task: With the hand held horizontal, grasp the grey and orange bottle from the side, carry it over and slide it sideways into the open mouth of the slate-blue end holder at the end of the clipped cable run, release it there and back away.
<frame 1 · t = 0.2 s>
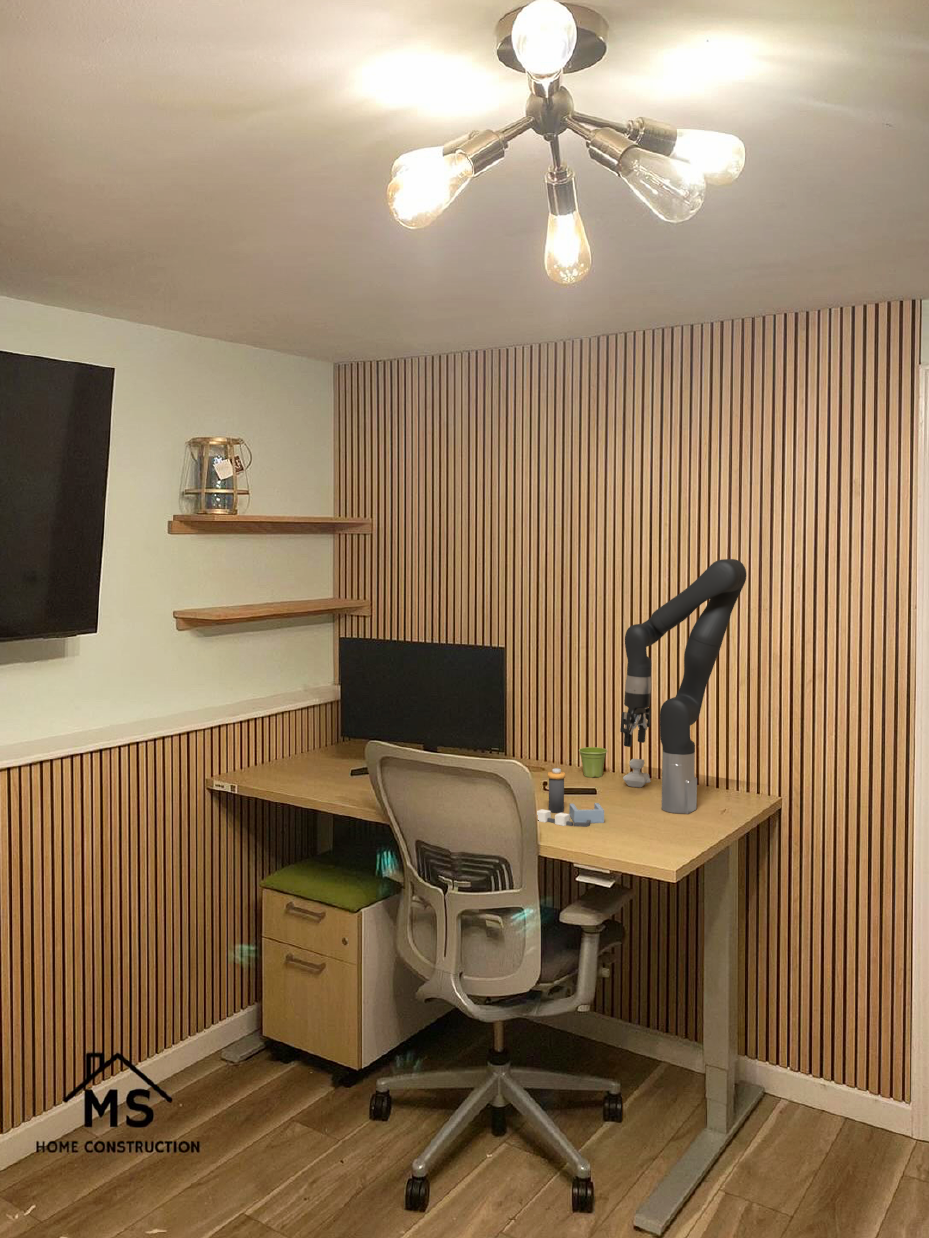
hand: (634, 744, 301), 18 cm above the table, tool pointing down, fingers open, 8 cm apart
routed cable: (564, 817, 282), on the table
plant pot: (592, 776, 336), on the table
end holder: (586, 818, 286), on the table
stamp: (636, 786, 323), on the table
grey and orange bottle: (556, 810, 294), on the table
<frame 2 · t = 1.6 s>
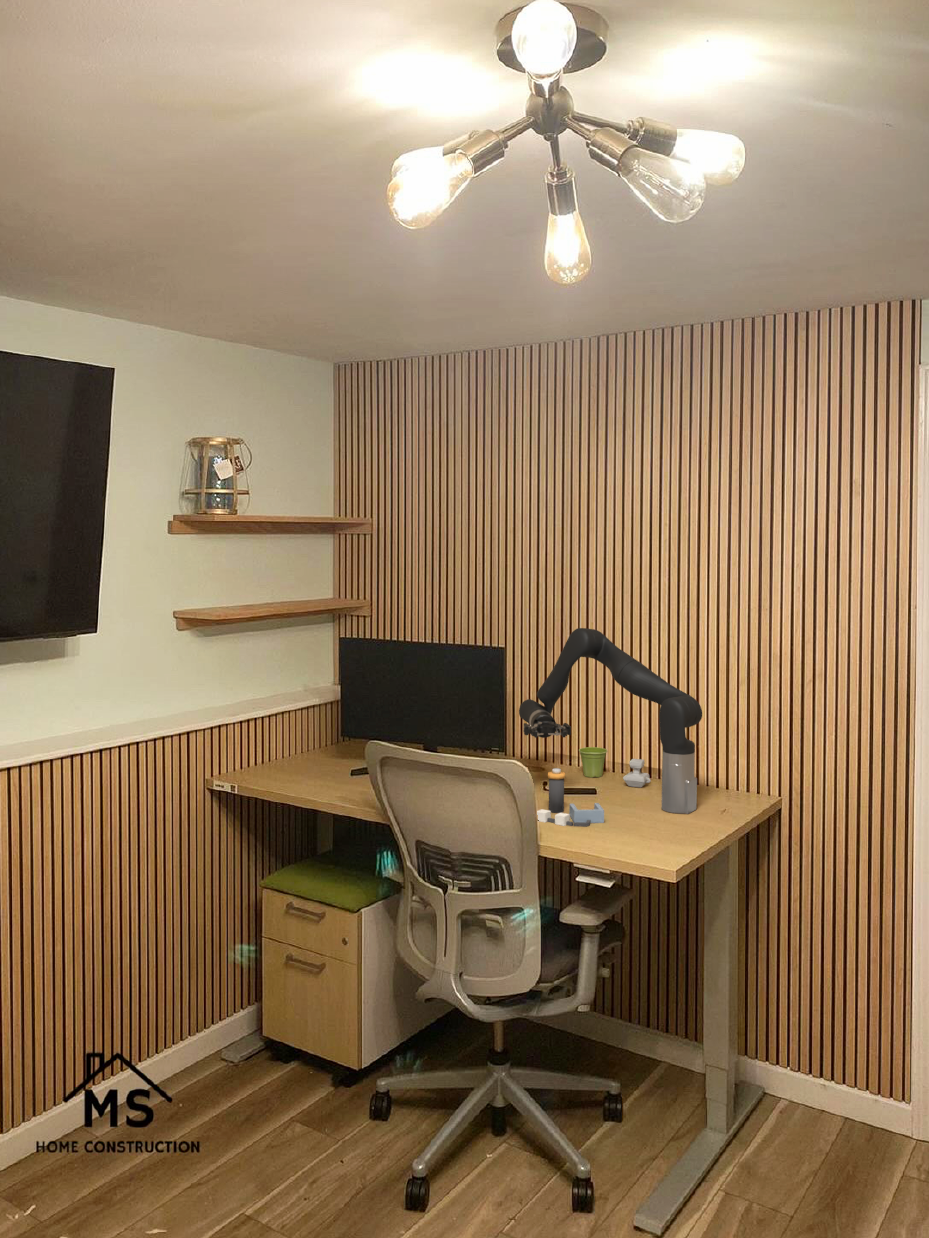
hand: (550, 734, 303), 20 cm above the table, tool horizontal, fingers open, 8 cm apart
nothing on the table moved.
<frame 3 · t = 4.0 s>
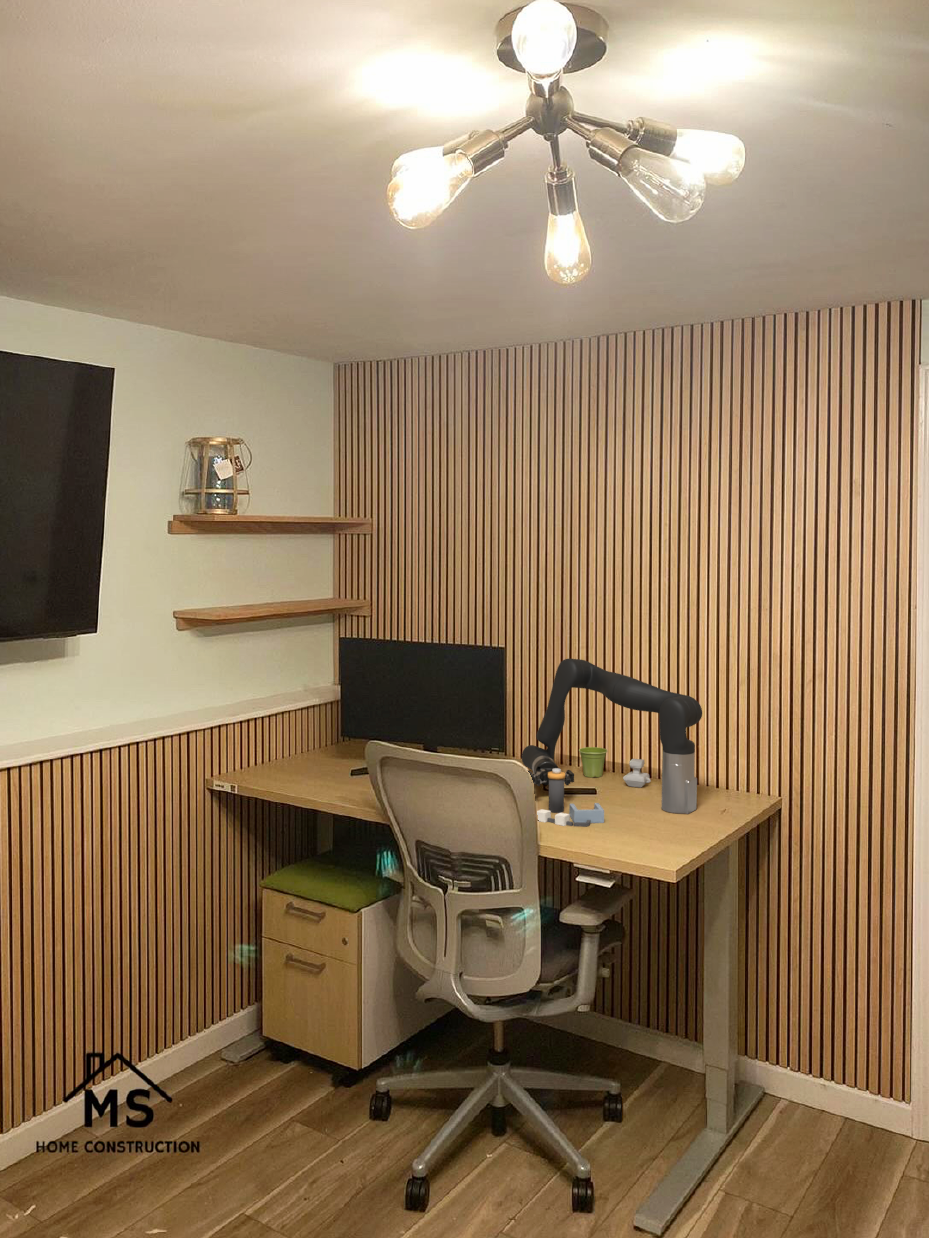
hand: (553, 782, 299), 7 cm above the table, tool horizontal, fingers open, 8 cm apart
nothing on the table moved.
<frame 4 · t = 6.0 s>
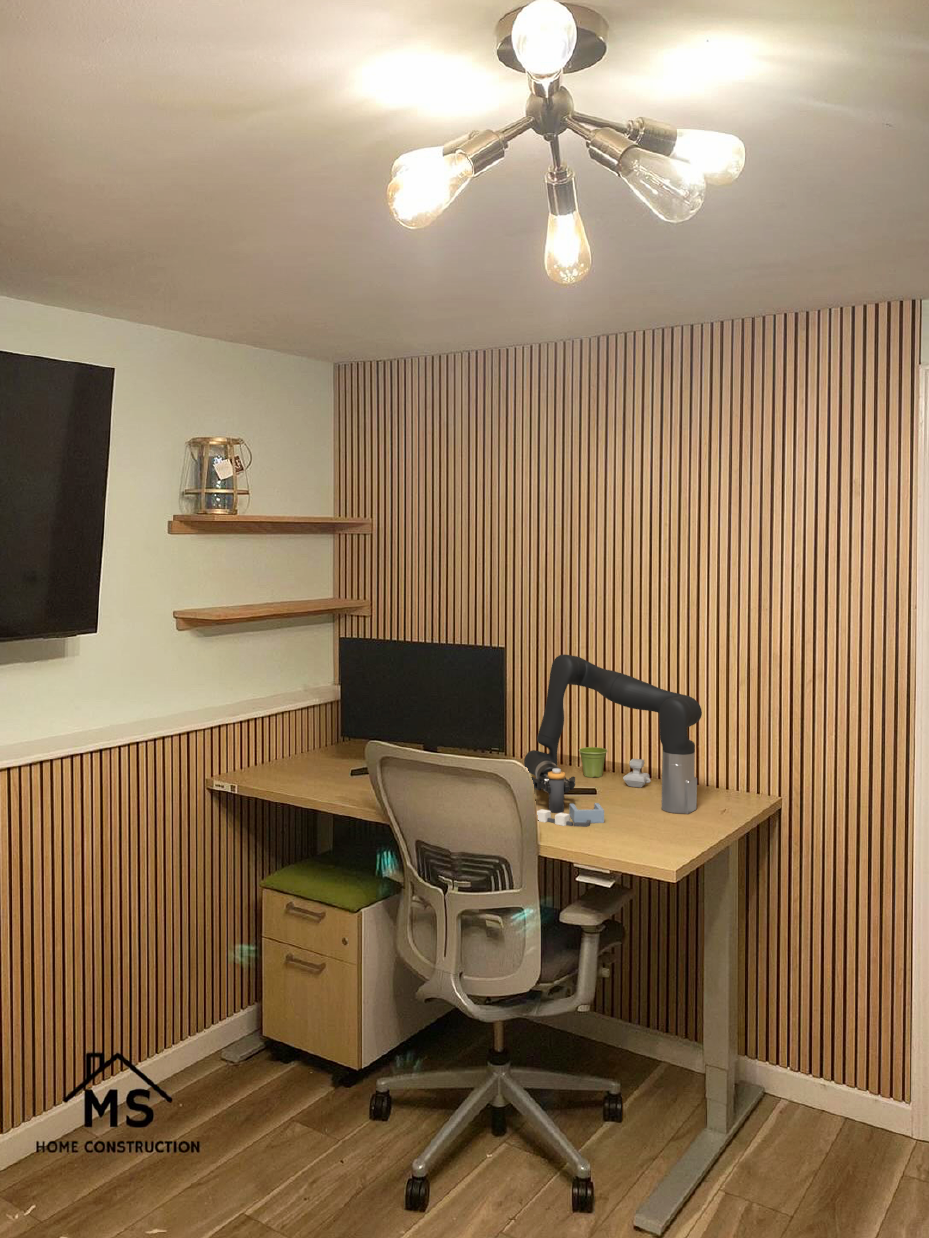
hand: (558, 789, 290), 7 cm above the table, tool horizontal, fingers closed on grey and orange bottle, 4 cm apart
grey and orange bottle: (556, 810, 294), on the table, touching gripper
everything else where it was.
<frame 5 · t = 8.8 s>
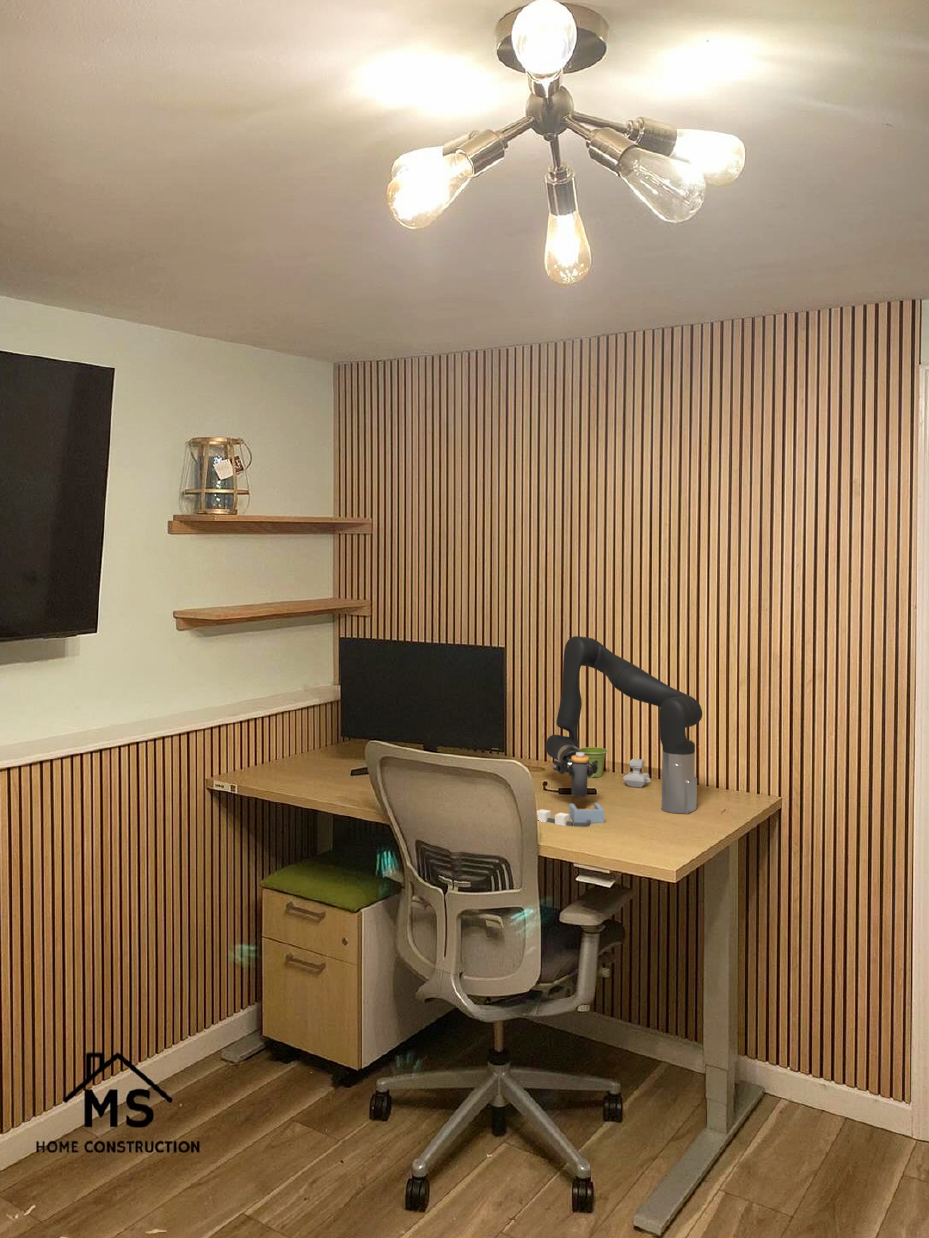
hand: (581, 773, 291), 11 cm above the table, tool horizontal, fingers closed on grey and orange bottle, 4 cm apart
grey and orange bottle: (579, 794, 295), point 5 cm above the table, touching gripper
everything else where it was.
when the fingers open (8 cm above the table, at t = 11.8 s): grey and orange bottle stays where it is, resting on end holder.
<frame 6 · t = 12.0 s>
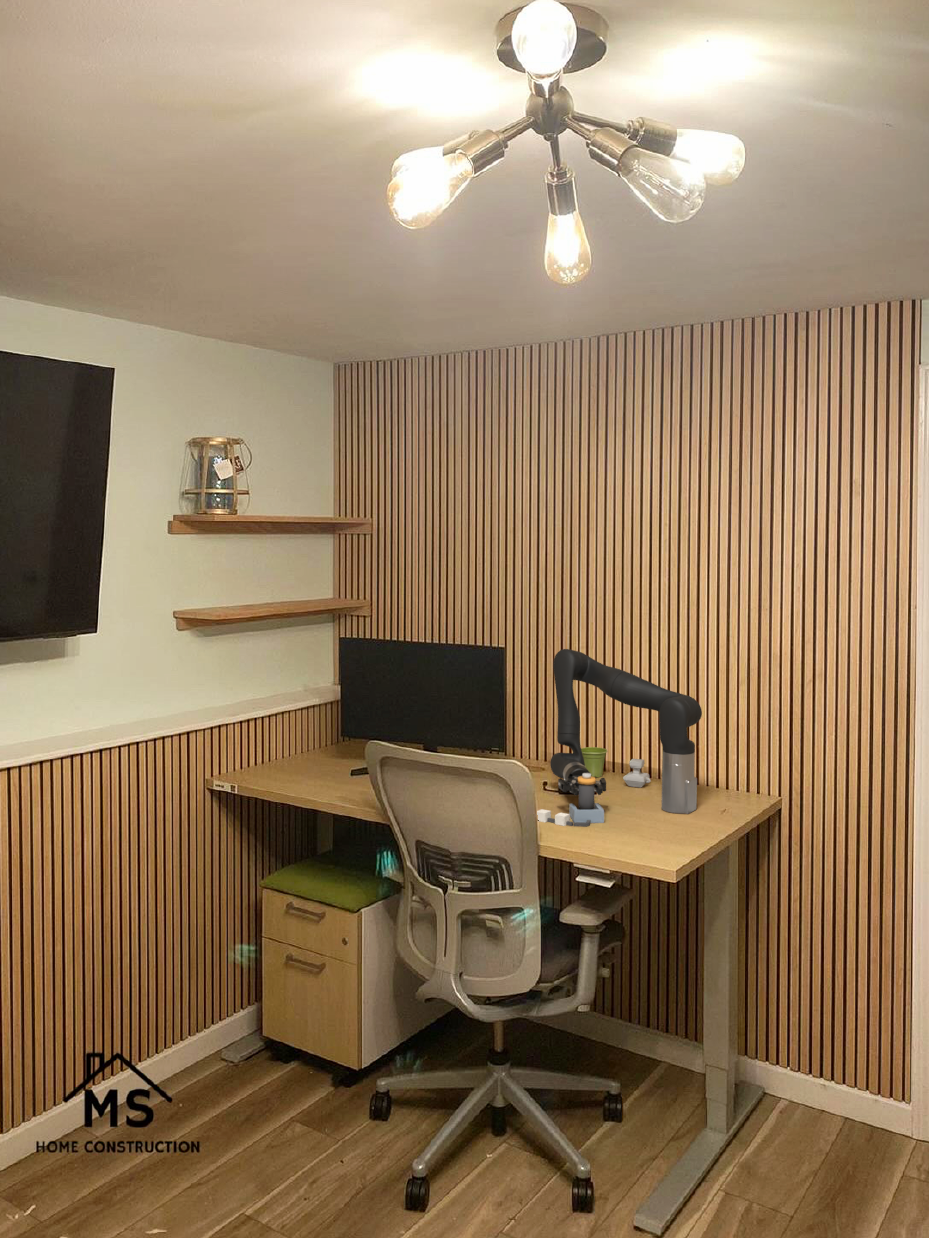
hand: (588, 791, 283), 8 cm above the table, tool horizontal, fingers open, 6 cm apart
grey and orange bottle: (586, 816, 286), point 1 cm above the table, touching end holder
everything else where it was.
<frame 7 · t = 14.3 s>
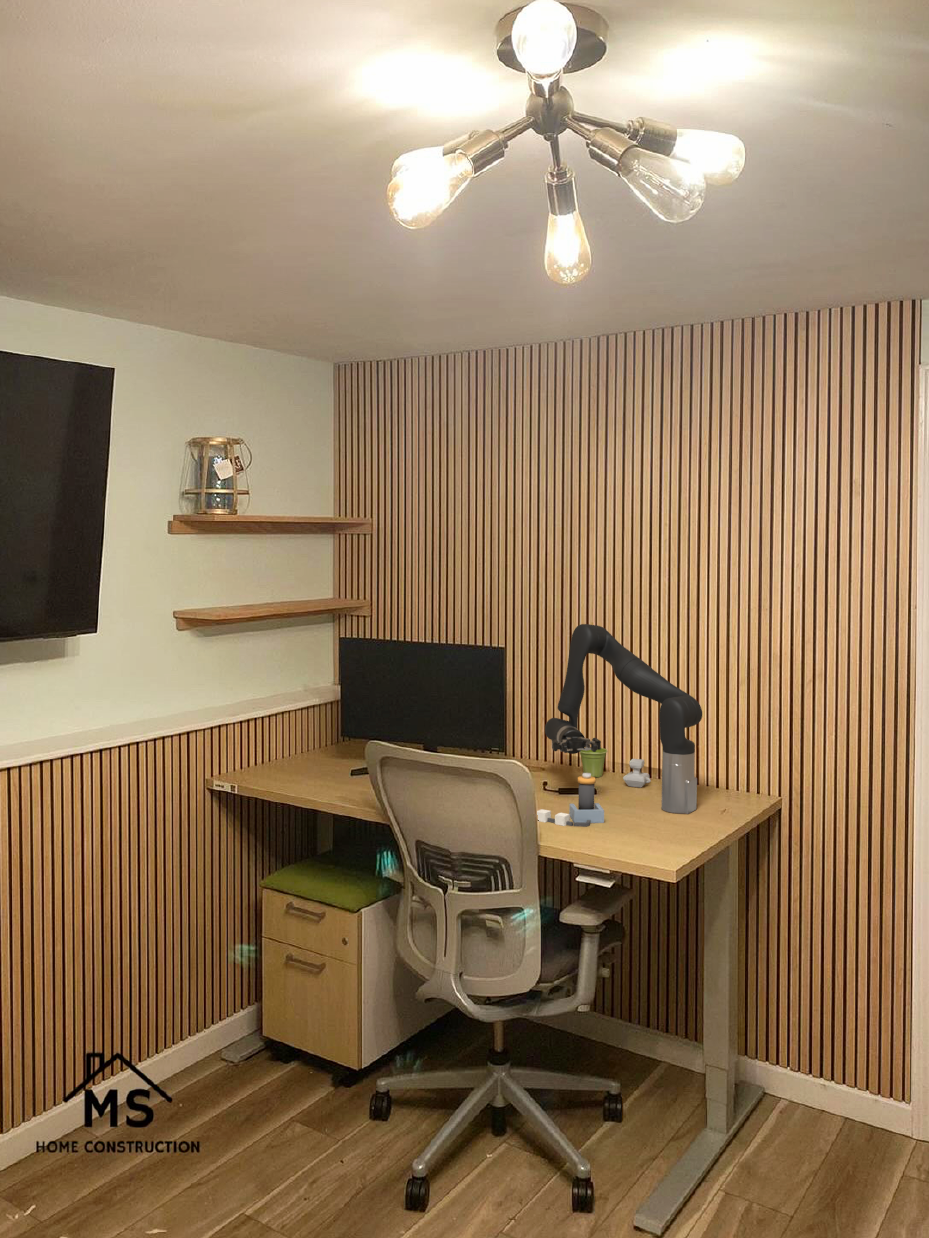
hand: (580, 748, 295), 18 cm above the table, tool horizontal, fingers open, 8 cm apart
nothing on the table moved.
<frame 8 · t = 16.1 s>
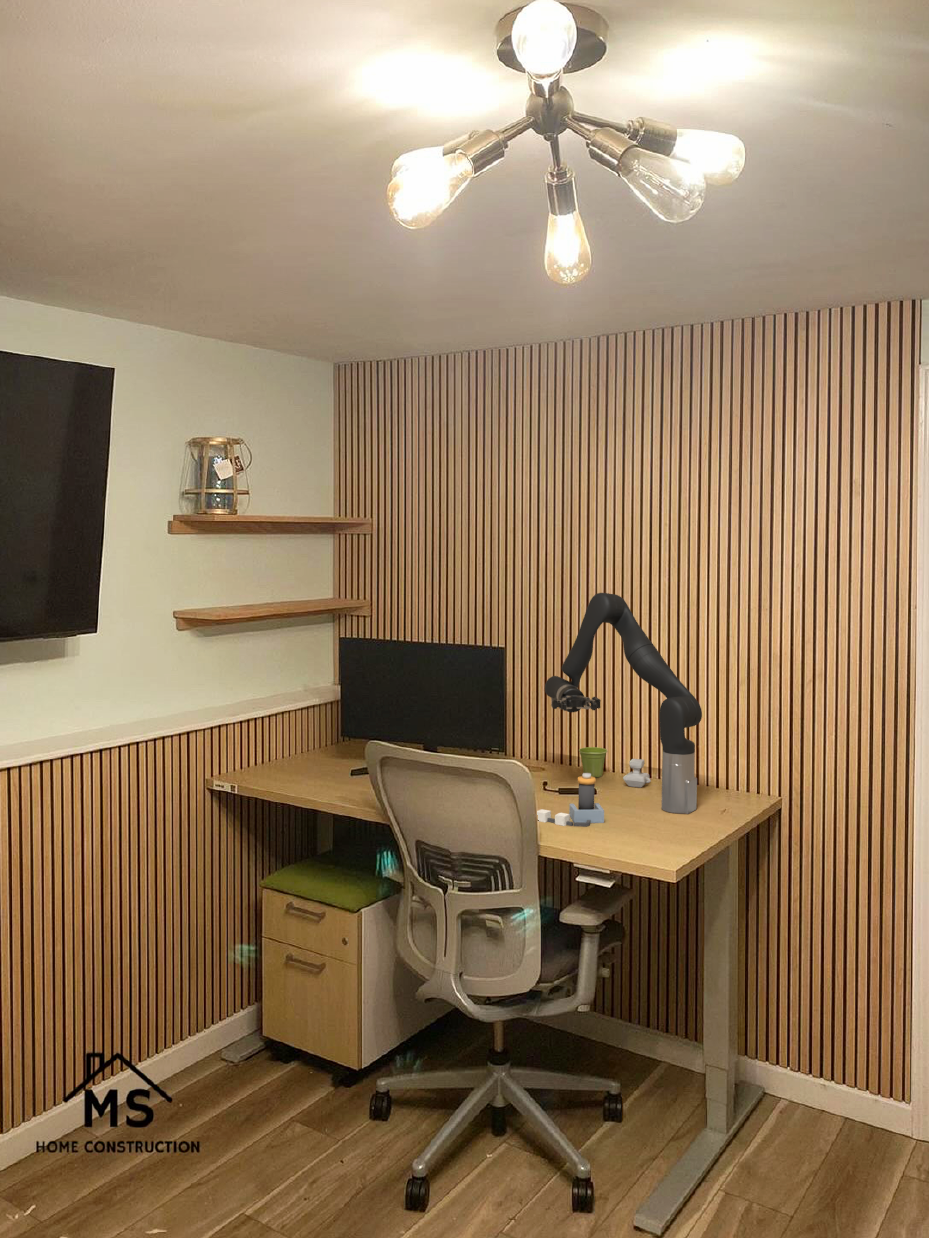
hand: (579, 707, 294), 30 cm above the table, tool horizontal, fingers open, 8 cm apart
nothing on the table moved.
at the end: grey and orange bottle 0.1 cm from the end holder (horizontally); grey and orange bottle tilted 1°; grey and orange bottle point 0.5 cm above the table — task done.
